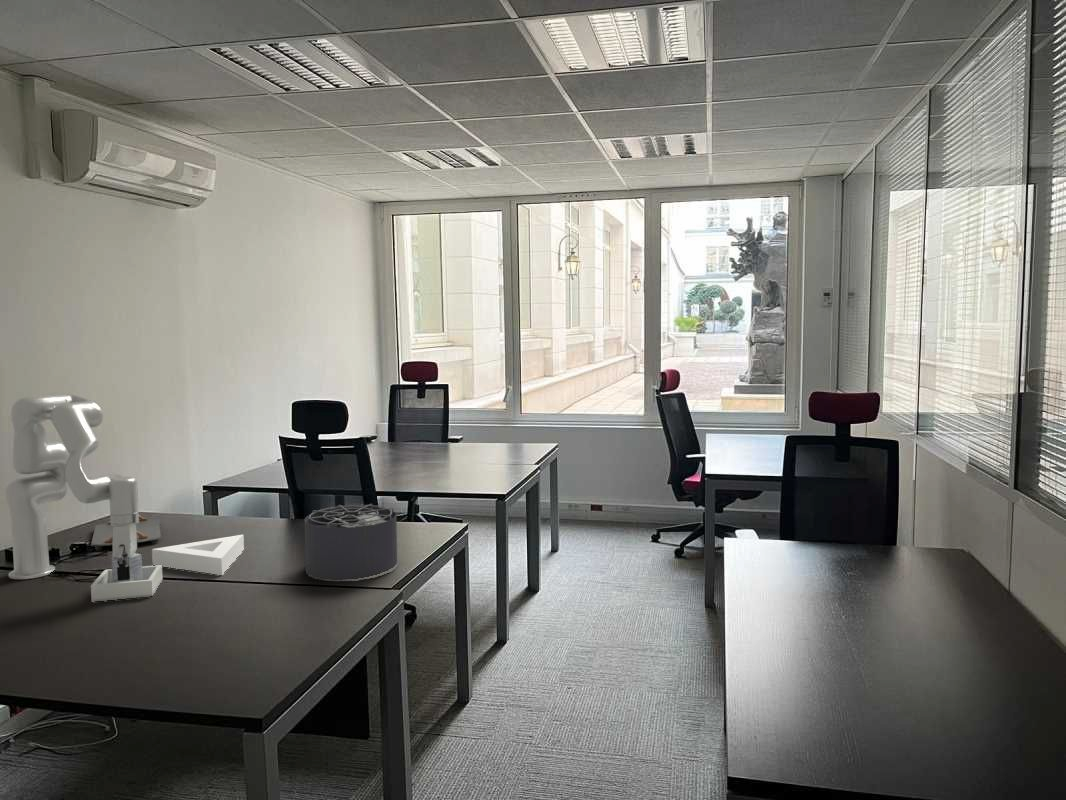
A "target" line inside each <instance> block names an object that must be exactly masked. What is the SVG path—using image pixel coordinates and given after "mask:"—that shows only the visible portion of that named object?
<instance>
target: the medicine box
mask: <svg viewBox="0 0 1066 800" xmlns="http://www.w3.org/2000/svg"><path fill="white" fill-rule="evenodd" d="M124 556H127V555H124ZM142 559H143V558H142V554H141V553H136V552H135V553H134V554H133V555H132V556H131V557H130V558H128V561H129V562H128V566H130V579H129V580H118V577H117V561H118V559H117V558H116V559H114V558H113V554H112V555H111V569H112V576H113V583H114V582H126V581H138V580H143V574H142V567H143V560H142ZM123 560H125V562H126V559H123Z"/></svg>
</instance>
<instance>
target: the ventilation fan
mask: <svg viewBox="0 0 1066 800" xmlns="http://www.w3.org/2000/svg"><path fill="white" fill-rule="evenodd" d="M397 522H398V521H397V512H395V511H394V508H393V507H386V506H380V505H374V504H373V503H370V504H350V505H341V504H338V505H337V506H331V507H326V508H323V509H319V510H312V511H311V513H310V514H308V515H307V516H306V517H305V518H304V543H305V544H304V545H305V571H307V573H308V574H310V575H312V576H314V577H317V578H321V579H331V580H343V579H345V580H346V579H358V578H364V577H369V576H373V575H377V574H380V573H382V572H385V571H388V570H389V569H391V568H393V567H394V566H395V565H396V564H397V562H398V538H397V537H398V534H397V532H398V531H397V530H398V529H397V526H398V525H397Z"/></svg>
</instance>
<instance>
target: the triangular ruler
mask: <svg viewBox="0 0 1066 800" xmlns="http://www.w3.org/2000/svg"><path fill="white" fill-rule="evenodd" d="M244 537H245V536H244V534H237V535H232V536H227V537H219V538H214V539H207V540H206V539H205V540H201V541H195V542H188V543H187V542H186V543H183V544H182V543H181V544H177V545H176V544H175V545H170V546H163V547H157V548H152V549H151V558H152V559H151V561H152V566H153V565H162V566H163V567H169V568H168V569H170V567H171V568H176V569H175V570H177V569H185V570H192V571H198V572H205V573H211V574H210V575H212V574H217V575H216V576H219V575H223V576H224V575H225V573H226V572H227V571H228V570H229V568H230V567H231V566H232V565H233V564H234V563H235V562H236V561H237V559H238V558H239V557H240V556H239V555H241V554H242V553H243V552H244V551H245V542H244V541H245V538H244ZM243 550H244V551H243ZM242 551H243V552H242ZM238 556H239V557H238ZM237 557H238V558H237ZM236 558H237V559H236ZM233 562H234V563H233ZM232 563H233V564H232ZM231 564H232V565H231ZM230 565H231V566H230ZM229 566H230V567H229ZM163 567H162V568H163ZM227 569H228V570H227ZM226 570H227V571H226ZM225 571H226V572H225ZM198 572H197V573H198ZM224 572H225V573H224ZM205 573H204V574H205Z"/></svg>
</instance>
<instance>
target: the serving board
mask: <svg viewBox="0 0 1066 800" xmlns="http://www.w3.org/2000/svg"><path fill="white" fill-rule="evenodd" d="M161 528H162V527H161V523H160V519H159V518H147V517H143V516H142V515H141V514H139V523H136V534H137V544H138V543H143V542H150V543H151V545H156V543H157V544H158V540H159V539H161V538H162V532H161V531H162V530H161ZM90 546H91V547H95V549H102V550H103V547H108V546H110V547H111V546H112V547H113V526H112V525H111V521H110V520H109V521H108V522H105V523H100V524H96V525H95V526H94V530H93V535H92V539H91V543H90Z"/></svg>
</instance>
